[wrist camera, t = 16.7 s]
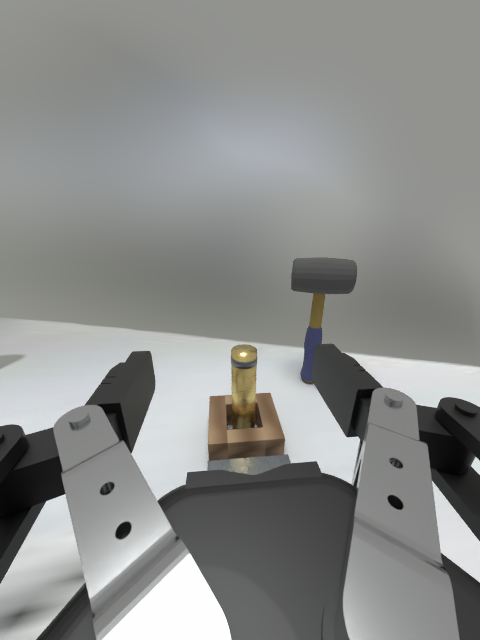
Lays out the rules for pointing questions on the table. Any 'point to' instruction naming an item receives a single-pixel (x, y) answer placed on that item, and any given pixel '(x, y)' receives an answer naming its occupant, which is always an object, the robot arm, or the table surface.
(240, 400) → the brass peg
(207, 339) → the table surface
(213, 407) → the block
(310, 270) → the rubber mallet
